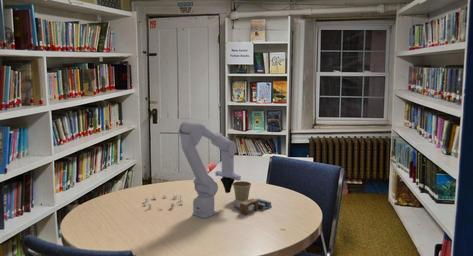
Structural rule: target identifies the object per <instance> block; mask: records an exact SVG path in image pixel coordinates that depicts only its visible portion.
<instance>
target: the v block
mask: <svg viewBox="0 0 473 256" xmlns="http://www.w3.org/2000/svg"><path fill="white" fill-rule="evenodd" d="M255 199H256V200H258V211H262V212H263V211H266V210H268V209H270V208H272V207H273V206H272V201H269V200H265V199H261V198H255Z"/></svg>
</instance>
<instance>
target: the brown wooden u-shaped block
mask: <svg viewBox="0 0 473 256" xmlns="http://www.w3.org/2000/svg"><path fill="white" fill-rule="evenodd" d="M256 199H257V198H250V199H249V198H248V200H247V201H244V202H241V203H240V210H239V214H240V215H243V216H248V215H249V212H248V205H250V204H253V205H255V211H254V212H257V211H259V209H258V200H256Z"/></svg>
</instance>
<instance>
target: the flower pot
mask: <svg viewBox="0 0 473 256" xmlns="http://www.w3.org/2000/svg"><path fill="white" fill-rule="evenodd" d="M232 186H233V187H232V188H233V191H234V198H235V200H239V201H242V202H244V201H247V200H249V194H250V189H251V186H252V183H251V182H249V181H243V180H242V181H241V180H239V181H234V182H233V184H232Z"/></svg>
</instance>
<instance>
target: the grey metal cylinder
mask: <svg viewBox="0 0 473 256" xmlns="http://www.w3.org/2000/svg"><path fill="white" fill-rule="evenodd" d="M241 202H242V201H239V200H236V199H235V200H234V202H233V204H232V207H233V208H234V209H236V210H239V211H240V203H241ZM254 212H256V211H255V205H253V204H250V205H248V214H249V213H250V214H253V213H254Z"/></svg>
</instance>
